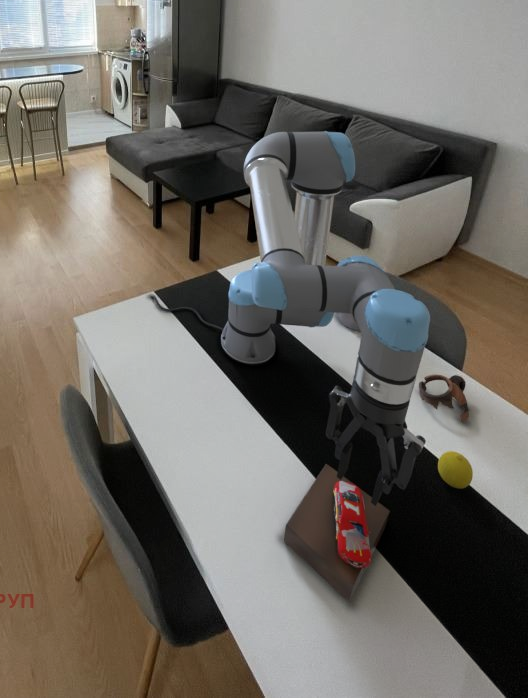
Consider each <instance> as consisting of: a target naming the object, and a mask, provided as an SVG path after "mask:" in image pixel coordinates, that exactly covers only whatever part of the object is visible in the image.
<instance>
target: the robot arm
mask: <svg viewBox="0 0 528 698" xmlns="http://www.w3.org/2000/svg"><path fill="white" fill-rule="evenodd" d="M355 158H356V157H355V152H354V149H353V145H352V143H351V140H350V138H349V137H348V136H347V135H346V134H345V133H343V132H336V131H327V130H324V131H279V132H278V131H277V132H274V133H271V134H268V135H266V136H264V137H262V138H260V140H258V141H257V142H256V143H255V144H254V145H253V146H252V147H251V148H250V150H249V152H248V153H247V154H246V157H245V160H244V163H243V179H244V182H245V183H246V185H247V186H248V187H249V188H250V194H251V195H250V196H251V202H252V209H253V210H252V211H253V216H254V222H255V230H256V237H257V238H256V239H257V244H258V245H257V246H258V252H259V260H260V262H254V263H253V264H252V267H251V269H249V270H248V269H247V270H243V271H240V272H238V273H237V274H236V275H235V276H233V277H232V279H231V281H230V284H229V290H228V315H227V317H228V318H227V322H226V323H225V325H224V327H220V326H218V325H215V324H212V323H209V322H207V321H205V320H204V318H202V316H201V314H200V313H199V312H198V311H197V310H196V309H194V308H193V307H190V306H179V307H174V308H167V307H163V306H162V305H161V304H160V302H159V301H158V298H157V297H156V296H155V295H150V296H149V297H150V299H153V300H154V302H155V303H156V305H157V307H158V308H159V309H160V310H162V311H164V312H176V311H181V310H188V311H191V312H193V313H194V314H196V316H197V318H198V319H199V320H200V322H201V323H202V324H204V325H205V326H207V327H210V328H213V329H215V330H219V331H221V332H222V333H221V335H220V346H221V349H222V351H223V352H224V354H225V355H226V356H227V357H228V358H229V359H231V361H234V362H236V363H237V364H240V365H243V366H248V367H257V366H258V367H259V366H264V365H265V364H267V363H269V362H270V361H272V359H273V358H274V356H275V354H276V335H275V334H274V332H273V331H272V328H271V325H283V326H296V327H308V328H323V327H326V326H328V325H330V324H331V322H332V321H333V318H334V315H335V314H337V313H349V314H352V316H353V317H354V319H355V321H356V323H357V325H358V327H359V329H360V330H359V331H360V343H359V348H358V352H357V358H356V363H355V369H354V375H353V378H352V384H351V388H350V391H349V393H347V392H345V391H343V388H342V387H340V386H339V385H335V386H334V388H333V389H332V390H331V391H330V392H329V394H328V399H329V403H330V404H329V405H330V409H329V413H328V418H327V425H326V429H325V436H326V438H327V439H328V440H333V442H334V443H335V450H334V458H335V459H336V460H338V461H339V463H338V467H337V477H338V478H339V479H340V480H341V479H342V478H343V476H344V477H345V474H346V473H347V471H348V470H349V466H350V461H351V455H352V451H353V446H354V444H353V442H351V441H350V440H351V439H352V438H353V437H354V436H355V434H356V433H357V432H358V431H359V430H360V428H361V429H363V430H365V431H367V432H369V433H370V434H372V436H374V437H375V438H376V444H377V446H378V449H379V456H380V465H381V469H380V471H379V473H378V474H377V477H376V480H375V484H374V488H373V493H372V496H371V497H372V500H371V503H372V504H373V505H375V506H376V505H377V503H379V501H380V499H381V497H382V496H383V493H384V494H385V495H389V494H390V493H391V491H392V489H393V486H394V485H395V484H396V486H397V487H398V488H399V489H400V490H406V488H407V486H408V484H409V482H410V480H411V478H412V474H413V470H414V468H415V467H414V465H415V462H416V459H417V457H418V456H419V455H421V453H422V451H423V448H424V447H425V444H426V442H427V440H426V438H425V437H423V436H422V435H419V434H418V435H415V434H414V433H412V432H411V431H410V430H409V429H408V424H407V422H406V417H407V414H408V409H409V406H410V402H411V398H412V396H413V395H412V394H413V392H414V387H415V384H416V380H417V375H418V372H419V369H420V365H421V361H422V358H423V354H424V351H425V348H426V345H427V343H428V340H429V332H430V329H429V328H430V322H431V315H430V311H429V309H428V308H427V306H426V305H425V304H424V302H422V301H421V300H419V299H416V298H415V296H414V295H412V294H410V293H408V292H405V291H402V290H398V289H396V288H395V287H394V285H393V283H392V281H391V279H390V276H389V275H388V274H387V272H386V271H385V270H384V269H383V268H382V266H380V265H379V263H378V262H377V261H376V260H374V259H373V258H371V257H369V256H365V255H360V254H358V255H357V254H356V255H352V256H350V257H346V258H343V259H341V260H340V261H339V262H338V263H337V265H326V264H327V263H326V262H327V254H328V248H329V247H328V246H329V240H330V239H329V238H330V231H331V225H332V216H333V209H334V201H335V196H336V195H339V194H340V193H342V191H343V187H344V183H348V182H351V181H353V179H354V177H355V173H356V159H355ZM287 181H290V186H291V188H292V189H293V190H294V191H296V194H295V203H294V204H295V205H294V210H293V206H292V201H291V199H290V195H289V190H288V187H287ZM345 405H347V406H348V408H349V410H350V413H351V415H352V416H353V418H352V420H351V421H350V422H349V424H348V425H347V426H346V428H345V429H344V430H343V431H342V432H341V431H340V425H341V421H342V416H343V410H344V406H345ZM400 437H402V438H403V445H404V446H403V448H404V449H405V450H404V453H403V456H402V460H401V463H400V467H399V470H398V469H397V467H398V466H397V458H396V450H395V441H394V439H396V438H400Z"/></svg>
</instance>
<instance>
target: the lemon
mask: <svg viewBox="0 0 528 698" xmlns="http://www.w3.org/2000/svg"><path fill="white" fill-rule="evenodd" d="M437 471H438V473H439V476H440V477H441V479H442V480H443V481H444V482H445V483H446V484H447V485H449V486H450V487H452V488H454V489H465V488H467V487H469V486H470V484H471V483H472V481H473V476H474V475H473V474H474V472H473V471H474V470H473V468H472V465H471V463H470V461H469V459H467V458H466V457H465V455H463V454H461V453H459V452H457V451H453V450H449V451H448V450H447V451H445V452H443V453H442V454H441V456H440V457H439V458H438V462H437Z"/></svg>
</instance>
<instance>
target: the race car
mask: <svg viewBox="0 0 528 698" xmlns="http://www.w3.org/2000/svg"><path fill="white" fill-rule="evenodd" d="M359 488H360V487H359V486H357V485H356V484H354V483H353V484H351V483H348V482H344V481H338V482H337V483H336V484H335V487H334V490H333V504H334V518H335V531H336V540H337V552H338V554H339V556H340V557H341V558H342V559H343V560H344V561H345V562H346V563H347V564H349V565H350V566H352V567H354V568H359V569H362V568H366V569H367V568H368V567H369V566H370V565H371V564H372V563H371V562H372V556H371V551H370V544H369V537H368V534H369V533H371V532H370V531H368V529H367V522H366V515H365V507H364V501H363V497H362V493H361V491H360V489H361V488H360V489H359Z"/></svg>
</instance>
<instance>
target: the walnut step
mask: <svg viewBox="0 0 528 698" xmlns="http://www.w3.org/2000/svg"><path fill="white" fill-rule="evenodd" d="M337 472H338V470H336V469H334V468H333V467H331V466H330V465H329V464H327V463H325V465H324V466H323V468H322V469H321V471H319V474H318V475H317V477H316V478H315V480H314V481H313V483H312V485H311V486H310V488H309V489H308V491H307V492H306V494H305V495H304V497H302V500H301V501H300V502H299V504H298V505H297V507H296V509H295V510H294V512H293V513H292V514H291V516H290V517H289V519H288V521H287V522H286V524H285V527H284V529H285V530H284V537H283V542H284V543H285V544H286V545H287V546H288V547H289V548H290V549H292V550H293V552H295V553H296V554H297V555H298V556H299V557H300V558H301V560H303V561H304V562H305V563H306V564H308V566H310V568H311V569H313V571H315V572H316V573H317V574H318V575H319V576H320V577H321V578H322V579H323V580H325V582H327V583H328V584H329V586H331V587H332V588H333V589H334V590H335V591H336V592H337V593H338V594H340V596H342V598H344V599H345V601H346V602H348V603H350V602H351V600H352V598H353V596H354V594H355V591H356V590H357V588H358V586H359V584H360V581H361V579H362V577H363V575H364V573H365V571H366V569H367V567H366V568H362V569H359V568H354V567H352V566H350V565H349V564H347V563H346V562H345V561H344V560H343V559H342V558H341V557H340V556H339V554H338V552H337V540H336V531H335V518H334V504H333V490H334V487H335V484H336V483H337V482H338V481H344V482H348V483H351V484H354V482H352V481H350V480H349V479H348V478H346V477H345V475H344V476H343V478H342V479H341V480H340V479H339V478H338V477H337ZM358 488H359V489H360V491H361V493H362V497H363V501H364V507H365V515H366V522H367V529H368V531H370V532H371V533H369V534H368V537H369V544H370V551H371V557H372V556H373V554H374V552H375V550H376V548H377V546H378V544H379V541H380V540H381V538H382V535H383V534H384V531H385V529H386V527H387V523H388V520H389V516H390V513H391V511H390V509H388V508H387V507H385V506H384V505H382V504H381V503H380V502H378V503H377V505H376V506H375V505H373V504H372V503H371V500H372V496H370V495H369V494H368V493H366V492H365V490H362V489H361V488H360V487H358Z"/></svg>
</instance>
